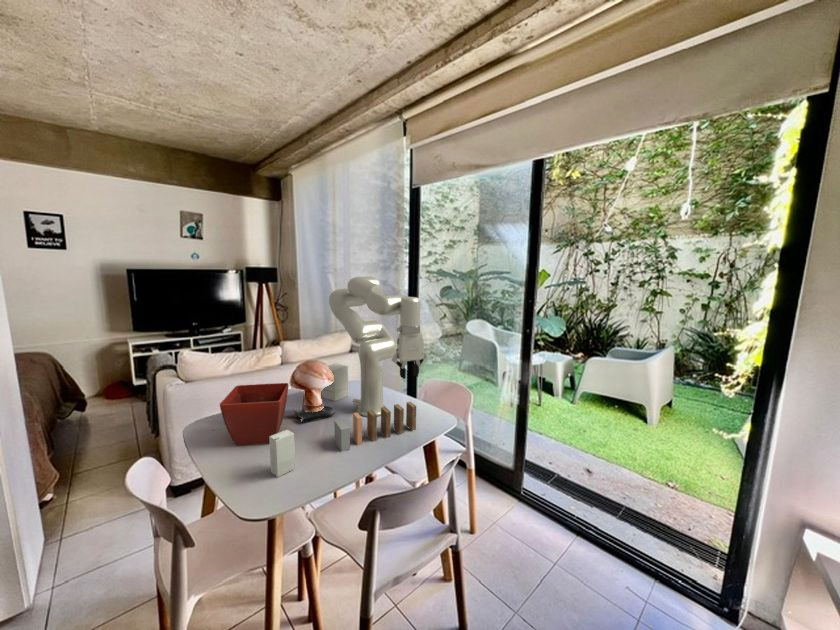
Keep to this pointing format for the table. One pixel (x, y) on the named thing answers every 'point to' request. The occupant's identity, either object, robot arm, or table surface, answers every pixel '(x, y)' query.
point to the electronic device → (315, 414)
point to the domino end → (357, 428)
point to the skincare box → (282, 452)
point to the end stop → (342, 434)
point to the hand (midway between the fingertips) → (409, 376)
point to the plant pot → (254, 412)
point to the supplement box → (337, 383)
